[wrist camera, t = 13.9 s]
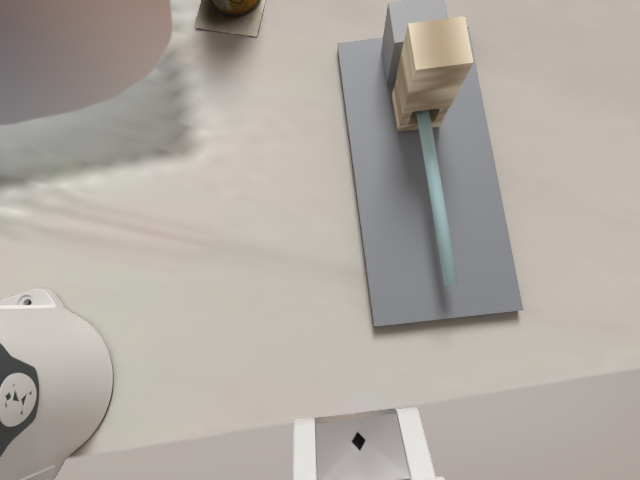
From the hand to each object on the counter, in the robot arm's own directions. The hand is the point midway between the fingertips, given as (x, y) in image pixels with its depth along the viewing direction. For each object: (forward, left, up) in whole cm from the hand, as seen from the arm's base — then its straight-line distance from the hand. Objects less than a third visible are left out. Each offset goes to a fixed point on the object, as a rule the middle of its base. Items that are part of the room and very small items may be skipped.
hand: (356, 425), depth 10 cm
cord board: (+10, +16, -31) cm, 37 cm away
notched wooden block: (+10, +22, -30) cm, 39 cm away
